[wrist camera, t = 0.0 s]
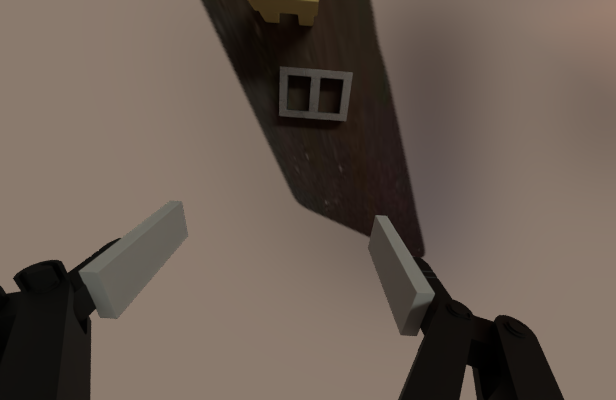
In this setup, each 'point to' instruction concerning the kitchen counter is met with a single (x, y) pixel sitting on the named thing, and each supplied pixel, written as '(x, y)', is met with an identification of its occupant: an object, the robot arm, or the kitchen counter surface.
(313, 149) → the kitchen counter surface
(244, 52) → the kitchen counter surface
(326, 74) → the grey flat frame
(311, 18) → the yellow notched block
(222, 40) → the kitchen counter surface
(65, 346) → the robot arm
